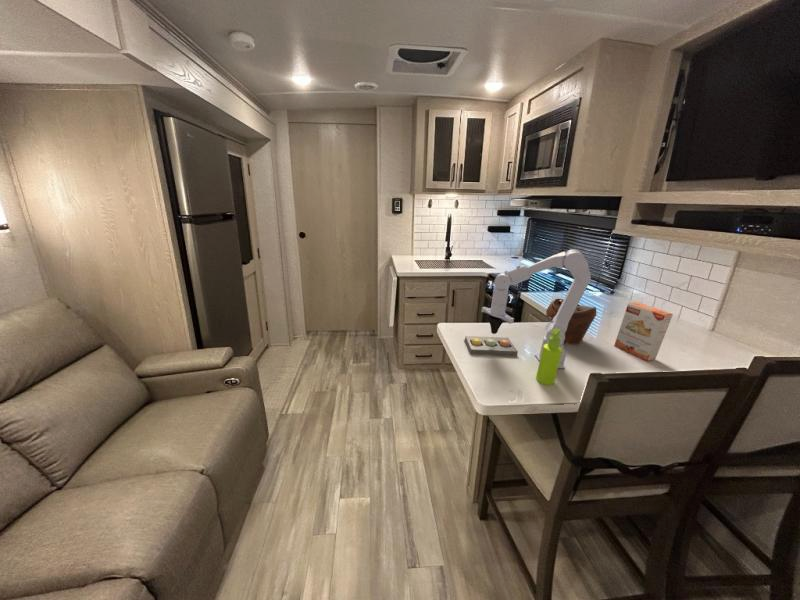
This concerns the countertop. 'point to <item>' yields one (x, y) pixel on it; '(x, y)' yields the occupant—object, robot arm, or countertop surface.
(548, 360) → the soap dispenser
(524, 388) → the countertop surface
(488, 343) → the button mid
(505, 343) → the button
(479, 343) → the button
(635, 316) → the cracker box
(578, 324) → the brown basket
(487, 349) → the panel
